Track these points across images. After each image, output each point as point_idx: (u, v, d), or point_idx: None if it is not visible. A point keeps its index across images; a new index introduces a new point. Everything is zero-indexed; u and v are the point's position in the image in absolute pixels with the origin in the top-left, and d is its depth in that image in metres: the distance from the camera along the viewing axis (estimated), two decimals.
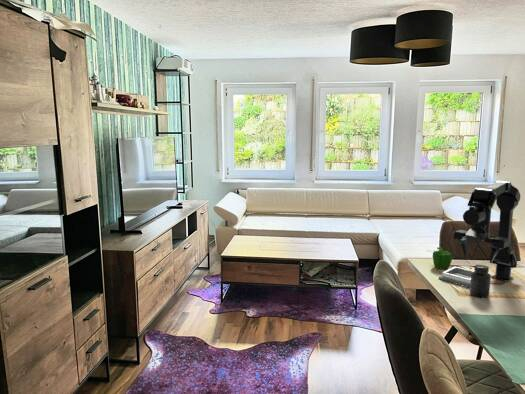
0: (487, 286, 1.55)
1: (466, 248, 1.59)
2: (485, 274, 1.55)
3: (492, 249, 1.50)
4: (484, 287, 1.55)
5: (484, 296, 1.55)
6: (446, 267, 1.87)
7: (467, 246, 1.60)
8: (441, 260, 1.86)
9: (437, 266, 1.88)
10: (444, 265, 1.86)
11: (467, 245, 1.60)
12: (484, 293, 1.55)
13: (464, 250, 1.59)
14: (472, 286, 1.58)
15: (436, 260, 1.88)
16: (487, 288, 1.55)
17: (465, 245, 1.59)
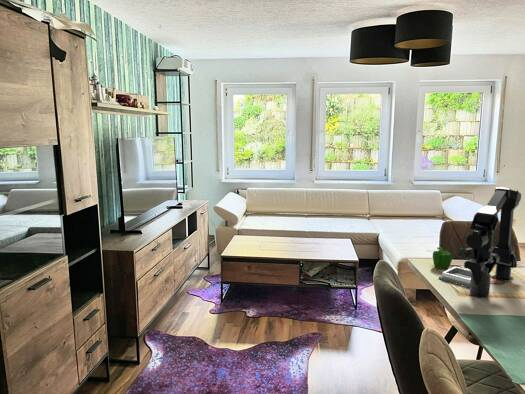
0: (487, 286, 1.55)
1: None
2: (485, 274, 1.55)
3: None
4: (484, 287, 1.55)
5: (484, 296, 1.55)
6: (446, 267, 1.87)
7: None
8: (442, 260, 1.86)
9: (437, 266, 1.88)
10: (445, 265, 1.86)
11: None
12: (484, 293, 1.55)
13: None
14: (472, 286, 1.58)
15: (436, 260, 1.88)
16: (487, 288, 1.55)
17: None
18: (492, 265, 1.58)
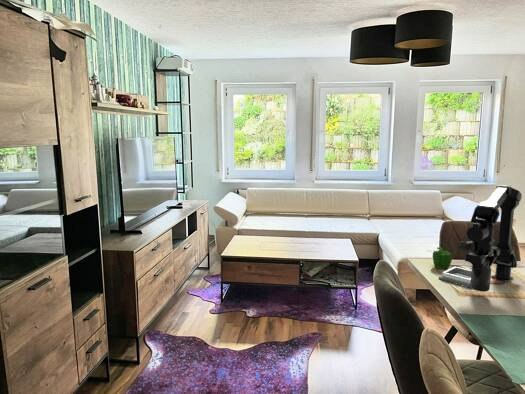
0: (487, 279, 1.54)
1: None
2: (486, 267, 1.55)
3: None
4: (484, 280, 1.54)
5: (485, 289, 1.55)
6: (446, 267, 1.87)
7: None
8: (442, 260, 1.86)
9: (437, 266, 1.88)
10: (445, 265, 1.86)
11: None
12: (485, 286, 1.55)
13: None
14: (472, 279, 1.57)
15: (436, 260, 1.88)
16: (487, 281, 1.55)
17: None
18: (493, 258, 1.57)
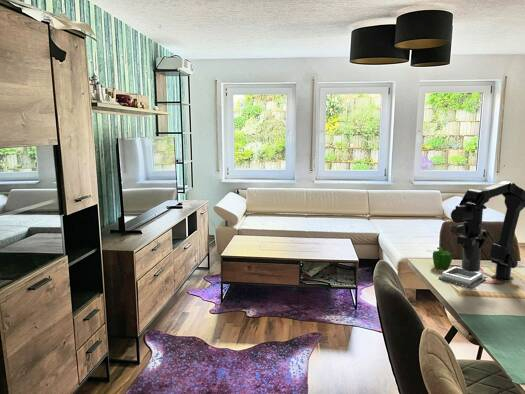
0: (478, 260, 1.64)
1: None
2: (476, 249, 1.64)
3: None
4: (475, 261, 1.63)
5: (475, 270, 1.64)
6: (446, 267, 1.87)
7: None
8: (441, 260, 1.86)
9: (437, 266, 1.88)
10: (444, 265, 1.86)
11: None
12: (475, 266, 1.64)
13: None
14: (464, 261, 1.66)
15: (436, 260, 1.88)
16: (478, 262, 1.64)
17: None
18: (482, 240, 1.66)
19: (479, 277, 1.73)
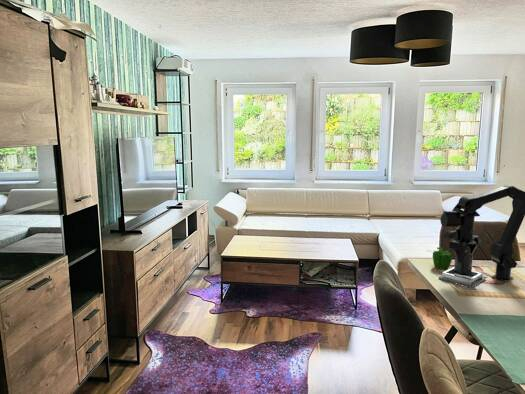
0: (469, 264, 1.71)
1: None
2: (468, 254, 1.71)
3: None
4: (466, 265, 1.71)
5: (467, 273, 1.72)
6: (446, 267, 1.87)
7: None
8: (441, 260, 1.86)
9: (437, 266, 1.88)
10: (444, 265, 1.86)
11: None
12: (467, 270, 1.71)
13: None
14: (456, 265, 1.74)
15: (436, 260, 1.88)
16: (469, 266, 1.71)
17: None
18: (474, 246, 1.74)
19: (479, 277, 1.73)
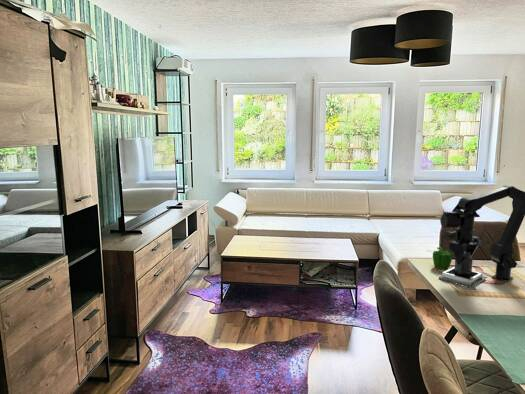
0: (469, 268, 1.72)
1: None
2: (468, 258, 1.72)
3: None
4: (466, 269, 1.71)
5: (466, 277, 1.72)
6: (446, 267, 1.87)
7: (470, 250, 1.76)
8: (442, 260, 1.86)
9: (437, 266, 1.88)
10: (445, 265, 1.86)
11: (471, 250, 1.76)
12: (466, 274, 1.72)
13: None
14: (456, 268, 1.74)
15: (436, 260, 1.88)
16: (469, 270, 1.72)
17: (466, 248, 1.77)
18: (475, 246, 1.75)
19: (479, 277, 1.73)
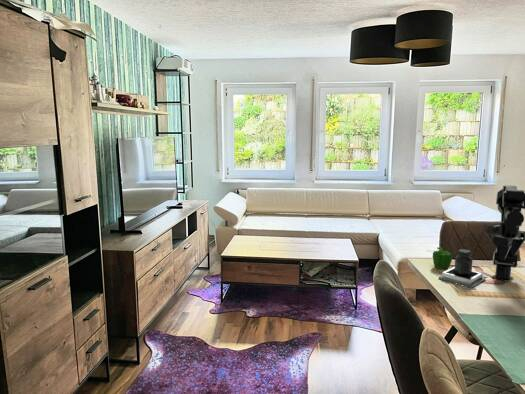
0: (469, 268, 1.72)
1: (513, 247, 1.66)
2: (468, 258, 1.72)
3: None
4: (466, 269, 1.71)
5: (466, 277, 1.72)
6: (446, 267, 1.87)
7: (516, 246, 1.65)
8: (442, 260, 1.86)
9: (437, 266, 1.88)
10: (444, 265, 1.86)
11: (516, 245, 1.65)
12: (466, 274, 1.72)
13: None
14: (456, 268, 1.74)
15: (436, 260, 1.88)
16: (469, 270, 1.72)
17: (511, 243, 1.67)
18: (521, 241, 1.64)
19: (479, 277, 1.73)
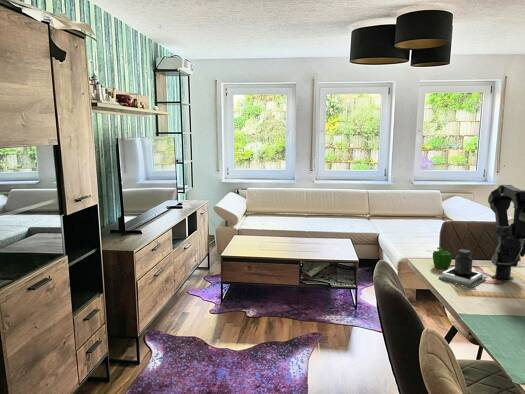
0: (469, 268, 1.72)
1: (522, 248, 1.65)
2: (468, 258, 1.72)
3: None
4: (466, 269, 1.71)
5: (466, 277, 1.72)
6: (446, 267, 1.87)
7: None
8: (441, 260, 1.86)
9: (437, 266, 1.88)
10: (444, 265, 1.86)
11: None
12: (466, 274, 1.72)
13: None
14: (456, 268, 1.74)
15: (436, 260, 1.88)
16: (469, 270, 1.72)
17: None
18: None
19: (479, 277, 1.73)
